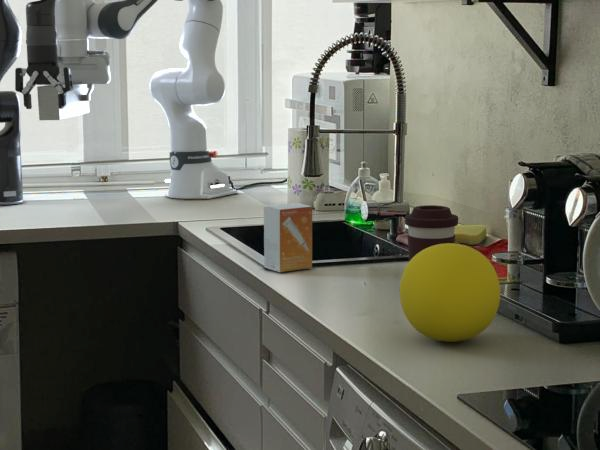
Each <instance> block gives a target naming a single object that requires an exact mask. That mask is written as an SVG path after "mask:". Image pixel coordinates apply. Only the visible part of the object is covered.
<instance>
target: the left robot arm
mask: <svg viewBox="0 0 600 450" xmlns="http://www.w3.org/2000/svg"><path fill="white" fill-rule="evenodd" d="M55 1H56V0H34V1H30V2H27V4H26V5H25V19H26V23H25V24H26V30H25V31H26V33H25V34H26V35H25V44H26V59H27V61H26V62H27V67H26V68H24V67H16V68H15V69H14V72H15V73H14V79H15V80H14V81H15V82H14V88H15V89H14V90H15V91H14V90H0V123H1V124H3V123H4V127H3V128H2V129H0V206H11V205H21V204H23V203H24V202H25V201H24V187H23V170H22V169H23V168H22V167H23V166H22V151H21V136H22V135H21V131H22V130H21V101H20V97H19V95H18V93H21V94H22V96H23V106H24V108H26V110H32V109H33V107H32V106H33V105H32V94H31V92H32V90H33V88H35V87H36V85H37V86H43V85H42V84H45V85H51V84H52V85H53V86H54V87H55V88H56V89H57V91H58V92H59V94H58V101H59V109H64V106H66V93H67V92H69V91H72V90H73V84H72V74H71V68H70V67H65V68H59V66H58V50H57V34H56V27H55ZM22 29H23V28H22V27H21V23H20V22H19V20H18V18H17V16H16V15H15V13H14V11H13V10H12V8H11V6H10V4H9V1H8V0H0V83H1V82H2V80H3V78H4V77H5V75H6V74H7V73H8V72H9V70H10V69H11V68H12V66H13V65H14V63H15V62H16V61H17V60H18V58H19V56H20V53H21V49H22V38H23V30H22ZM60 72H61V74H62V76H64V80H65V88H64V87H63V85H62V84H61V82H60V81H59V80H58V78H57V77H58V75H59V73H60ZM26 74H27V76H28V77H29V79H28V80H27V82H26V83H25V85H24V77H25V76H26ZM45 85H44V86H45Z"/></svg>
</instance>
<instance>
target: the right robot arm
mask: <svg viewBox="0 0 600 450" xmlns="http://www.w3.org/2000/svg"><path fill="white" fill-rule="evenodd" d="M175 1H177V2H182V1H183V0H175ZM187 1H188V12H187V15H186V18H185V22H184V24H183V29H182V31H181V37H180V39H179V40H180V41H179V43H178V45H179V50H180V52H181V54H182V55H183V56H184V57H185V58H186V59H187V66H186V68H168V69H163V70H160V71H156V72H155V73H154V74H153V75H152V77H151V79H150V81H149V91H150V95H151V97H152V98H153V100H154V101H155V102H156V103H158V105H160V107H161V109H162V110H163V113H164V114H165V116H166V119H167V123H168V128H169V138H170V141H169V142H170V150H169V165H170V176H169V178H167V179H164V182H165V183H169V184H168V189H167V194H166V197H168V198H172V199H186V200H189V199H190V200H191V199H195V200H196V199H201V200H202V199H215V198H219V197H224V196H229V195H234V194H238V191H241V190H244V189H247V188H251V187H255V186H260V185H280V184H281V185H282V184H285V183H287V182H288V181H287V178H285V179H284V180H280V181H279V180H278V181H259V182H253V183H249V184H245V185H243V186H241V187H235V185H234V183H233V181H232V180H231V176H230V175H228V174H227V173H226V172H225V171H224V170H222V168H220V167H218V166H217V165H216V163H214V162H213V161H212V158H214V159H216V158H217V157H218V155H219V154H218V151H216V150H210V151H209V150H208V144H207V137H208V136H207V126H206V123H205V121H203V120H202V119H201V118H199V117H198V116H197V114H196V113H195V111H194V108H193V106H202V107H203V106H211V105H213V104H217V103H219V102H221V101H222V99H223V98H224V96H225V94H226V82H225V79H224V77H223V75H222V74H221V73H220V72H219V70H218V69H217V65H216V50H217V46H218V41H219V36H220V34H221V28H222V23H223V13H224V5H223V3H222V0H187ZM157 2H158V0H118V1H112V2H97V1H94V0H56V1H55V28H56V34H57V50H58V66H59V68H65V67H70V68H71V74H72V83H82V84H87V88H88V92H87V94H85V95H84V101H89V102H90V101H91V98H92V97H91V94H92V93H93V91H94V90H95V85H108V84H109V83H111V82H112V81H111V80H112V76H111V69H110V64H111V57H110V54H109V53H108V52H106V51H105V50H103V49H102V50H101V49H99V50H94V49H93V50H92V49H91V50H90V49H89V48H90V47H89V38H90V39H114V40H123V39H126V38H127V37H129V36H131V34H132V33H133V31H134V29H135V27H136V25H137V24H138V22H139V20H140V19H141V18H142V17H143V16H144V15H145V14H146V13H147V12H148V11H149V10H150V9H151V8H152V7H153V6H154V5H155V4H156V3H157ZM57 78H58V80H59V81H60V82H61V83H65V80H64V76H62V74H61V72H60V73H59V75H58V77H57ZM51 85H52V84H51ZM41 86H45V84H42V85H41ZM230 186H231V188H230Z"/></svg>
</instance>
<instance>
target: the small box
mask: <svg viewBox="0 0 600 450" xmlns="http://www.w3.org/2000/svg"><path fill="white" fill-rule="evenodd" d="M263 248H264V249H263V257H264V258H263V259H264V266H263V267H264V268H266V269H267V270H270V271H274V272H278V273H285V272H290V271H291V272H292V271H298V270H299V271H300V270H307V269H308V270H309V269H312V268H313V206H312V205H308V204H303V203H299V202H291V203H279V204H278V203H277V204H273V205H264V206H263Z"/></svg>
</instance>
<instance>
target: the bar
mask: <svg viewBox="0 0 600 450" xmlns="http://www.w3.org/2000/svg"><path fill="white" fill-rule="evenodd" d="M61 84H62V85H63V87H64V88H65V83H61ZM72 84H73V90H72V91H69V92H67V93H66V106H64V109H59V101H58V94H59V92H58V91H57V89H56V88H55V87H54V86H53V85H37V86H36V88H37V89H36V90H37V105H38V119H39V121H61V120H66V119H69V118H74V117H77V116H81V115H85V114H89V113H90V101H84V95H85V94H87V92H88V90H89V88H87V84H82V83H72Z"/></svg>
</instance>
